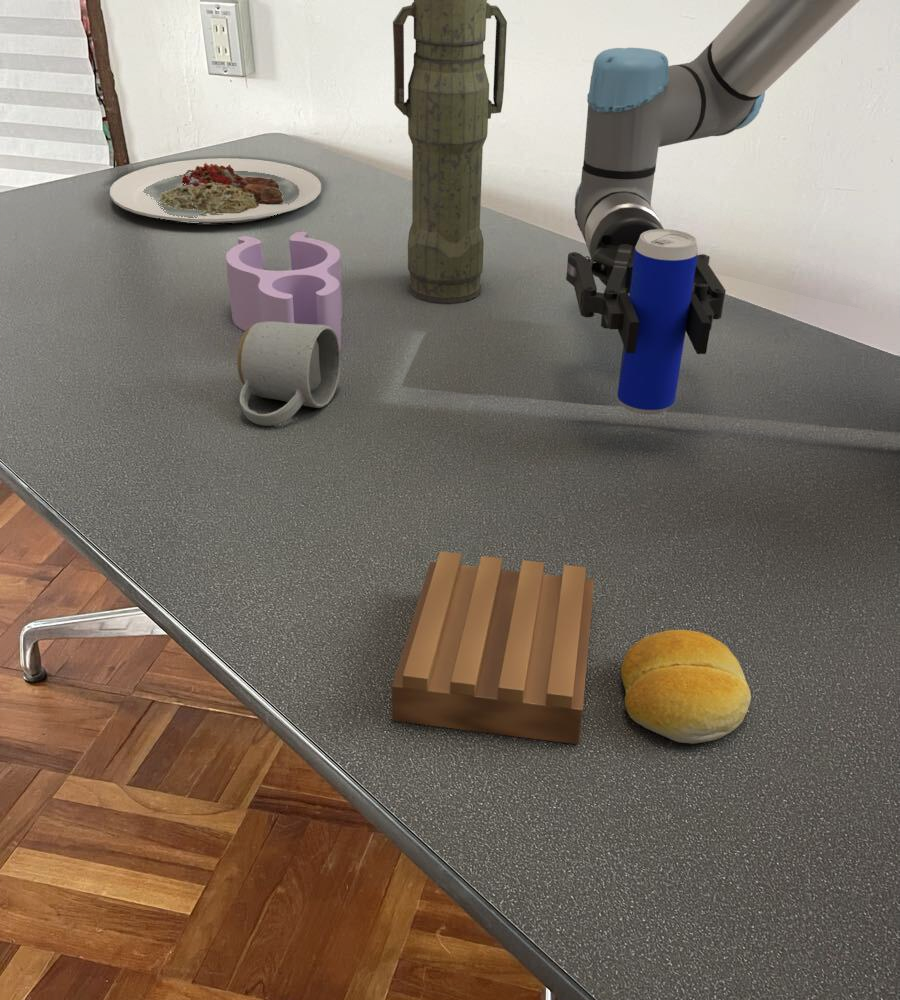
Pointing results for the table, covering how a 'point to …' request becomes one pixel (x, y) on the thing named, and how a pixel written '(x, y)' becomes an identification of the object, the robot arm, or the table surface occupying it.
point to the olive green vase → (447, 140)
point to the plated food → (215, 190)
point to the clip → (286, 284)
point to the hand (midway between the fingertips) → (668, 337)
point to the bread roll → (684, 686)
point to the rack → (497, 650)
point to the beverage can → (658, 319)
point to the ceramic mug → (288, 367)
